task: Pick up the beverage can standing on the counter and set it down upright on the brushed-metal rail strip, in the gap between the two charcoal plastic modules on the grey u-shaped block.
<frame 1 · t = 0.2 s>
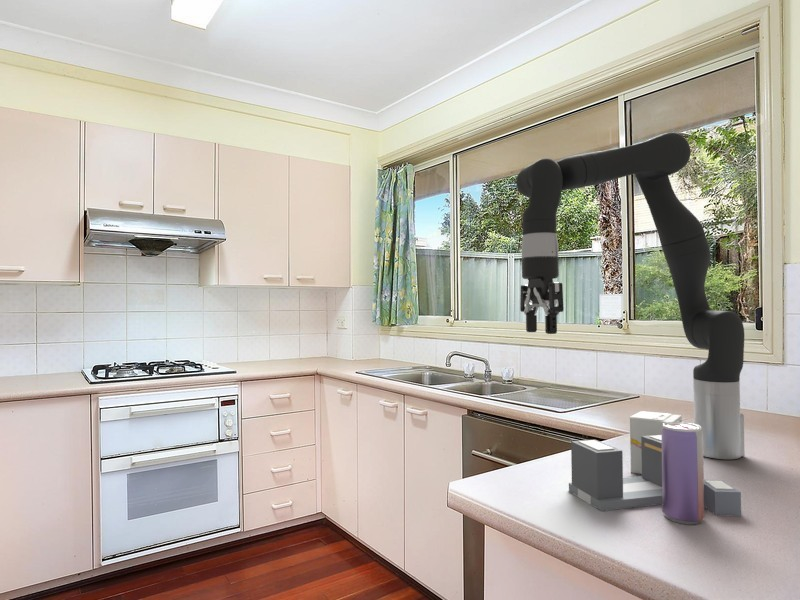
hand: (540, 332, 111), 29 cm above the countertop, fingers open, 8 cm apart
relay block: (719, 509, 90), on the countertop
grey u-shaped block: (633, 495, 96), on the countertop
beverage can: (683, 519, 86), on the countertop
ink box: (656, 472, 110), on the countertop
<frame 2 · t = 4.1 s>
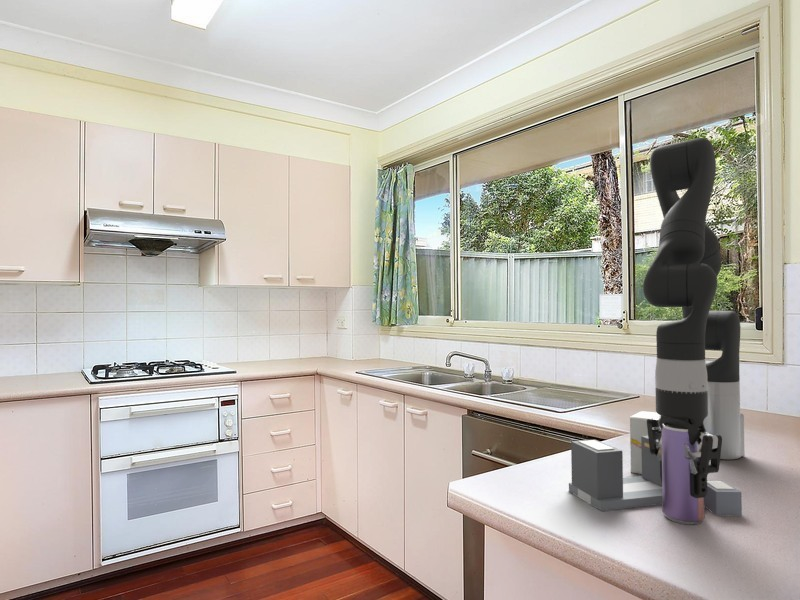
hand: (682, 489, 86), 5 cm above the countertop, fingers closed on beverage can, 6 cm apart
beverage can: (683, 519, 86), on the countertop, touching gripper
everything else where it was.
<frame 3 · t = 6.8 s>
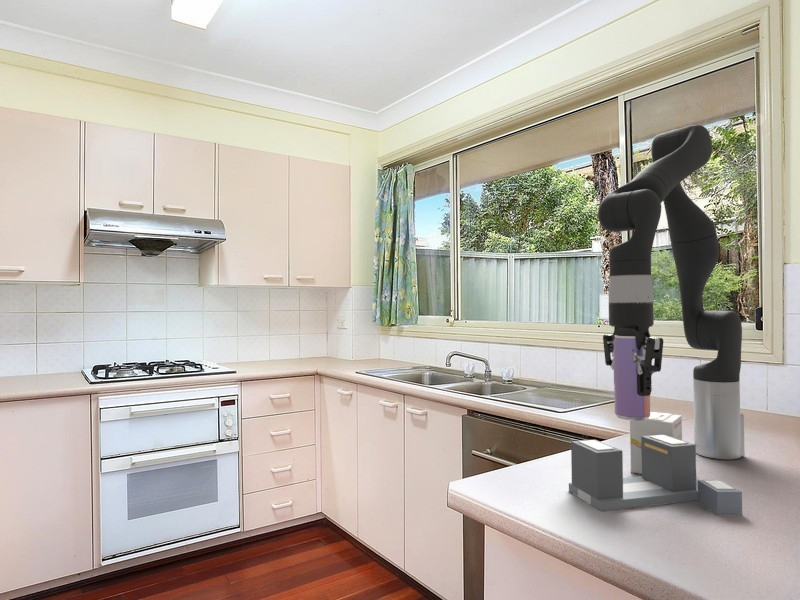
hand: (632, 392, 97), 19 cm above the countertop, fingers closed on beverage can, 6 cm apart
beverage can: (632, 418, 96), point 14 cm above the countertop, touching gripper
everything else where it was.
when the fingers open (7 cm above the countertop, at t = 9.6 s): beverage can drops 1 cm, resting on grey u-shaped block.
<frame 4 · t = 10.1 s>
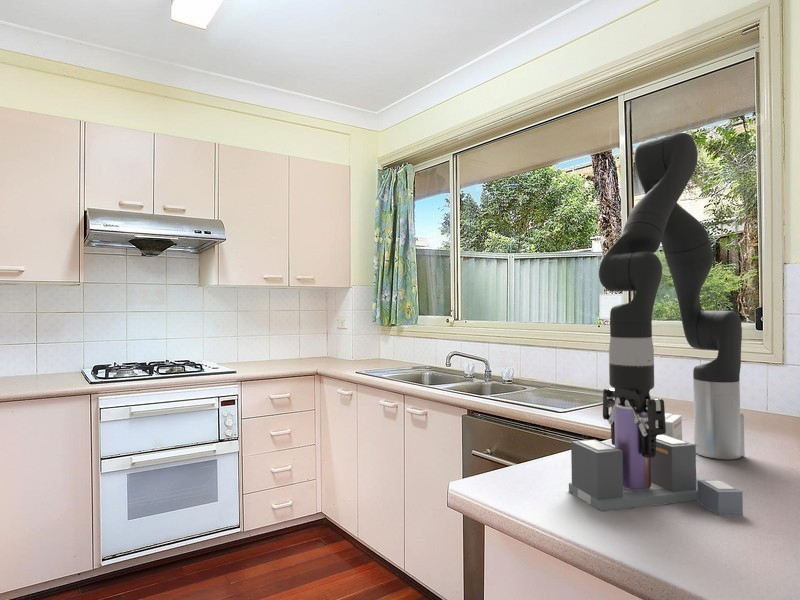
hand: (632, 450, 96), 8 cm above the countertop, fingers open, 8 cm apart
beverage can: (633, 488, 96), point 1 cm above the countertop, touching grey u-shaped block
everything else where it was.
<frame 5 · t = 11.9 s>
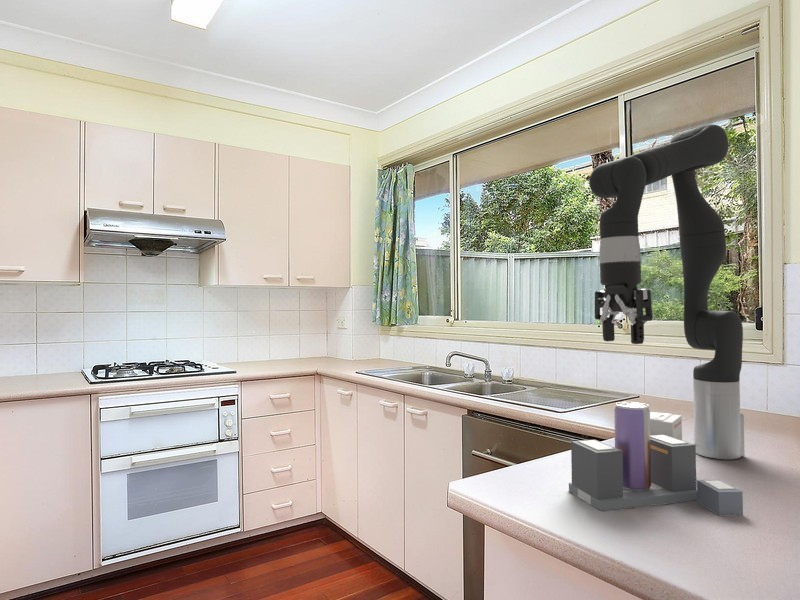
hand: (622, 342, 105), 27 cm above the countertop, fingers open, 8 cm apart
nothing on the countertop moved.
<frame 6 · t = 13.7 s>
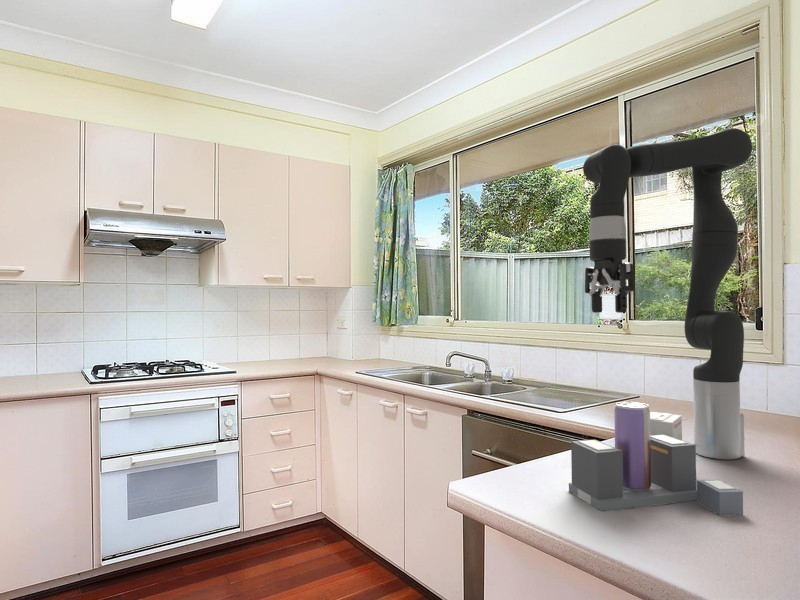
hand: (608, 312, 116), 33 cm above the countertop, fingers open, 8 cm apart
nothing on the countertop moved.
at the end: beverage can 0.0 cm from the target spot, point 1.3 cm above the countertop; beverage can tilted 0°; the gripper is holding nothing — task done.
